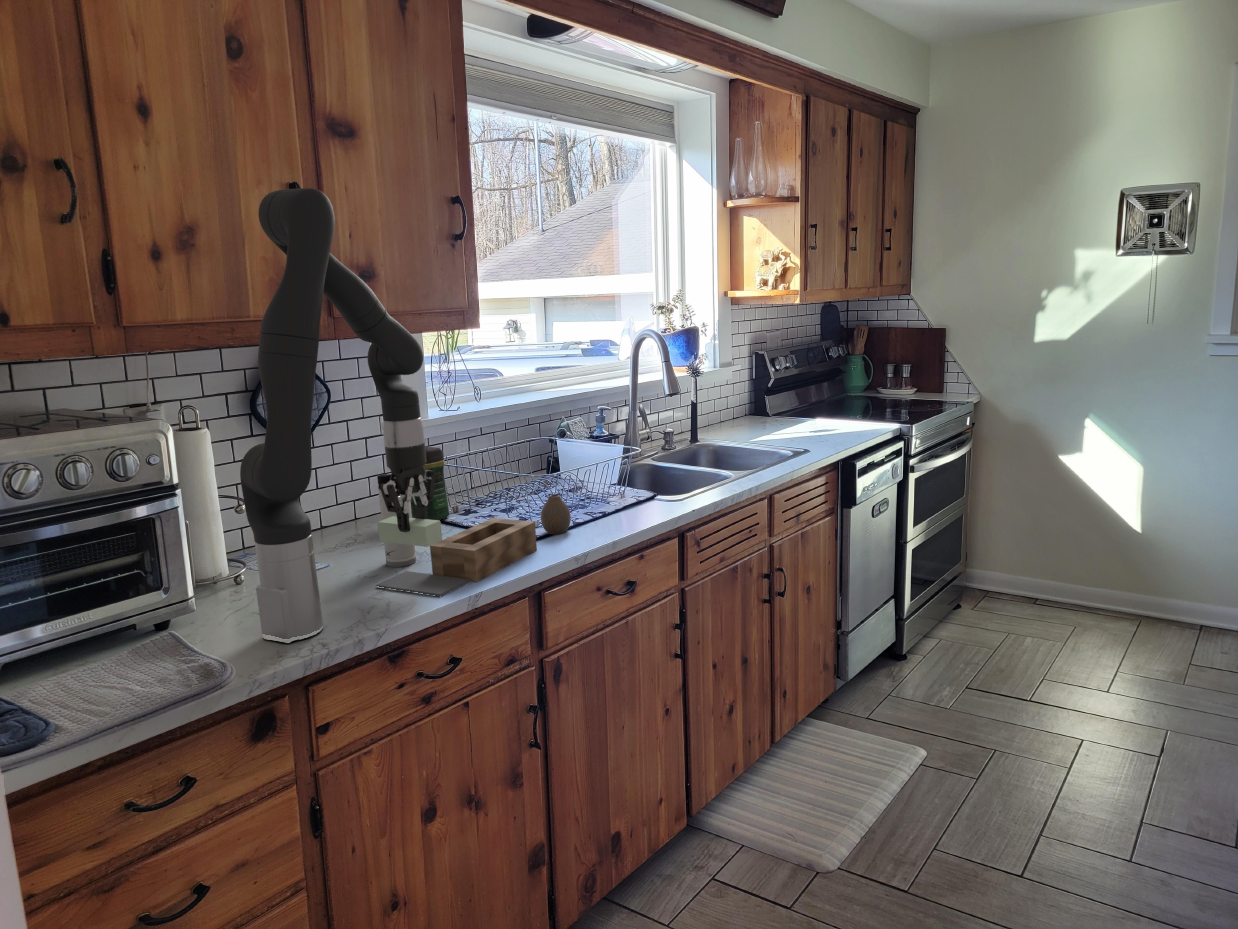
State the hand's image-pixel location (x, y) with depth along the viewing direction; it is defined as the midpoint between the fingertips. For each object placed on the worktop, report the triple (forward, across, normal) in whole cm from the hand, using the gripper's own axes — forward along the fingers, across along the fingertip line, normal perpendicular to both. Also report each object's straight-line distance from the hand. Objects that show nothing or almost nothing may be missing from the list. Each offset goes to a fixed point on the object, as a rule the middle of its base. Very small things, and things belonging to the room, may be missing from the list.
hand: (413, 527), depth 179 cm
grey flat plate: (+12, 0, -1) cm, 12 cm away
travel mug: (+12, +10, +13) cm, 20 cm away
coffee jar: (+12, +42, +31) cm, 54 cm away
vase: (+12, +41, -7) cm, 43 cm away
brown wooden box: (+12, +16, -5) cm, 20 cm away
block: (+3, 0, +1) cm, 3 cm away
